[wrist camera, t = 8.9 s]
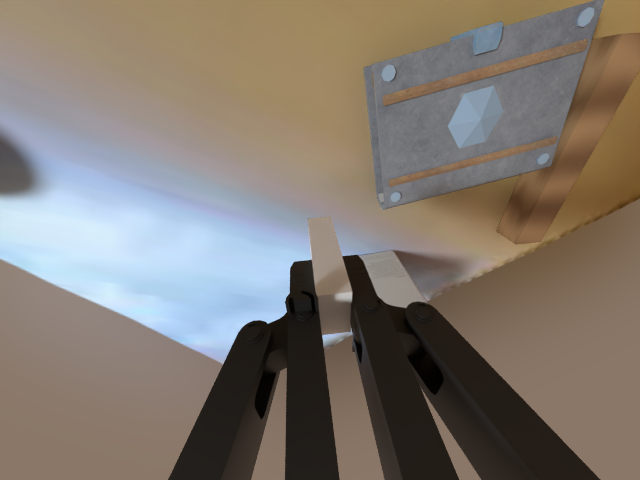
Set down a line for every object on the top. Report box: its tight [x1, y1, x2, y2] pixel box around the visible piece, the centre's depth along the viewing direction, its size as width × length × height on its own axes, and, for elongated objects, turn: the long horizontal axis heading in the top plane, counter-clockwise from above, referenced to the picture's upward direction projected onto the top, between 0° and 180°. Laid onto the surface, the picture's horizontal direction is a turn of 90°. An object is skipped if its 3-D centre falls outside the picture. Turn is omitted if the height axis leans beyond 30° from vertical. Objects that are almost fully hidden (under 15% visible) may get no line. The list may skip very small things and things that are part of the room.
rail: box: [497, 33, 640, 244], centre depth 30 cm, size 24×4×4 cm, turn 3°
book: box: [364, 0, 604, 210], centre depth 26 cm, size 21×16×5 cm
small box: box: [359, 251, 428, 308], centre depth 35 cm, size 8×6×13 cm
